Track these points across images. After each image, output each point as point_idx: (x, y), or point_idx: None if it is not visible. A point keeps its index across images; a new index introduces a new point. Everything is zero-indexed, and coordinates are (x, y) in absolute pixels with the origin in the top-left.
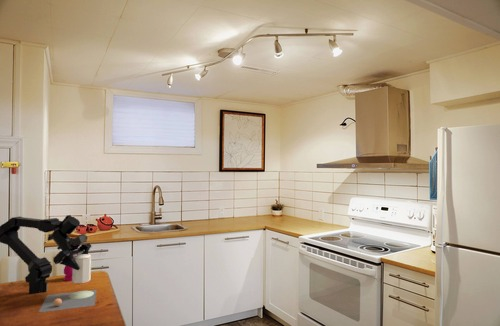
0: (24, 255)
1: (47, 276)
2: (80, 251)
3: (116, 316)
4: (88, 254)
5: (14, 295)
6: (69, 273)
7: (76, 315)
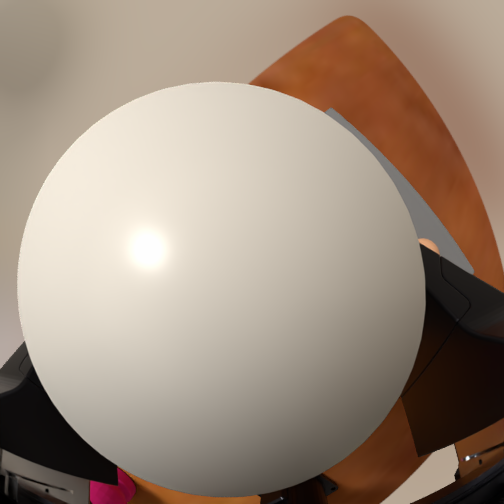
0: None
1: None
2: (52, 501)
3: (337, 25)
4: (26, 272)
5: None
6: (117, 493)
7: (409, 129)
